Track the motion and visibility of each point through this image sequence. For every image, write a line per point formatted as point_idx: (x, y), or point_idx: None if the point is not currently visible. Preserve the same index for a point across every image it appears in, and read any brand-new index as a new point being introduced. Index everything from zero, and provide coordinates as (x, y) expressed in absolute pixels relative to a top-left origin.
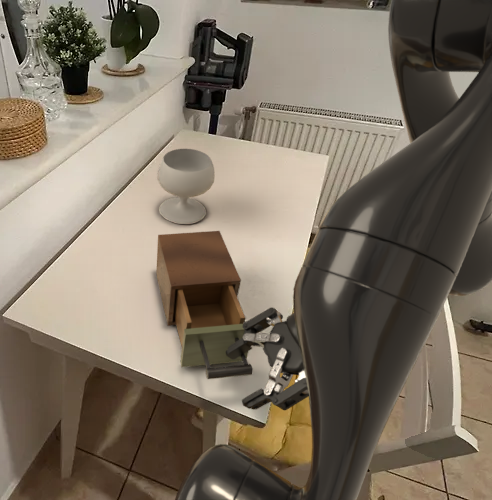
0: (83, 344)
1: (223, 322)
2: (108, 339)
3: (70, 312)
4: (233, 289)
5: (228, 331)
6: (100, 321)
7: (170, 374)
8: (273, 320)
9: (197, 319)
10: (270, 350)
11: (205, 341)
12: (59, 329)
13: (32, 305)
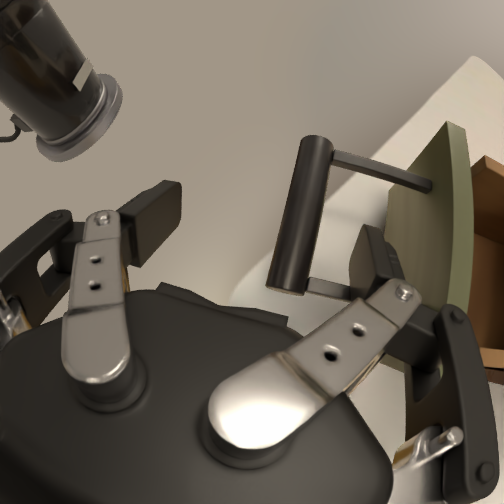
0: (445, 87)
1: None
2: (456, 117)
3: (492, 102)
4: None
5: (449, 263)
6: (484, 125)
7: None
8: (422, 468)
9: (487, 280)
10: (232, 336)
11: (429, 199)
12: (465, 78)
13: (492, 76)
